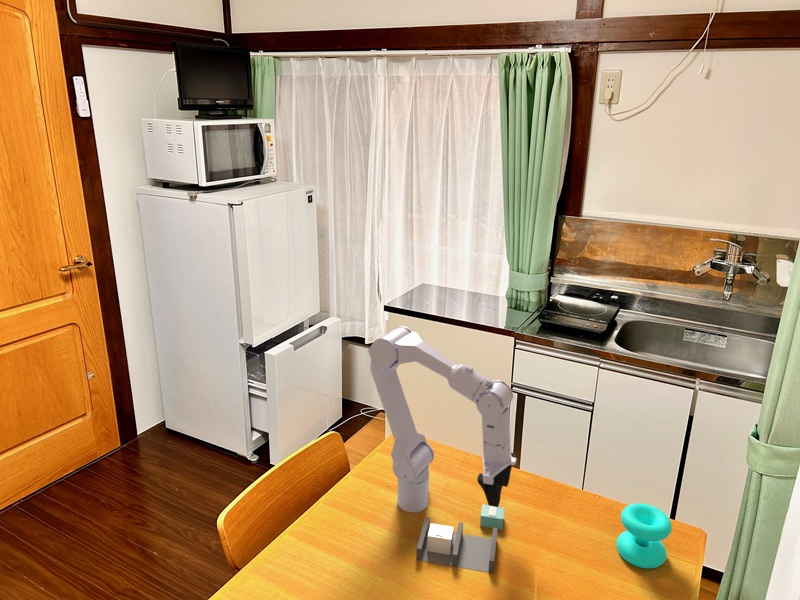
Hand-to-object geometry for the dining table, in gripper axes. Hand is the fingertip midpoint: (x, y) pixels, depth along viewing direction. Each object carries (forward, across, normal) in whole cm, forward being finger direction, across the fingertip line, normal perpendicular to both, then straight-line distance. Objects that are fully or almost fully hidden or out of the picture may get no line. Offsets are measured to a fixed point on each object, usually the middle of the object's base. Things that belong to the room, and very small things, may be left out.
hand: (498, 495), depth 129 cm
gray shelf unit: (+11, -8, +7) cm, 15 cm away
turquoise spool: (+15, +9, -28) cm, 33 cm away
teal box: (+11, +4, +3) cm, 12 cm away
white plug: (+10, -8, +11) cm, 17 cm away
